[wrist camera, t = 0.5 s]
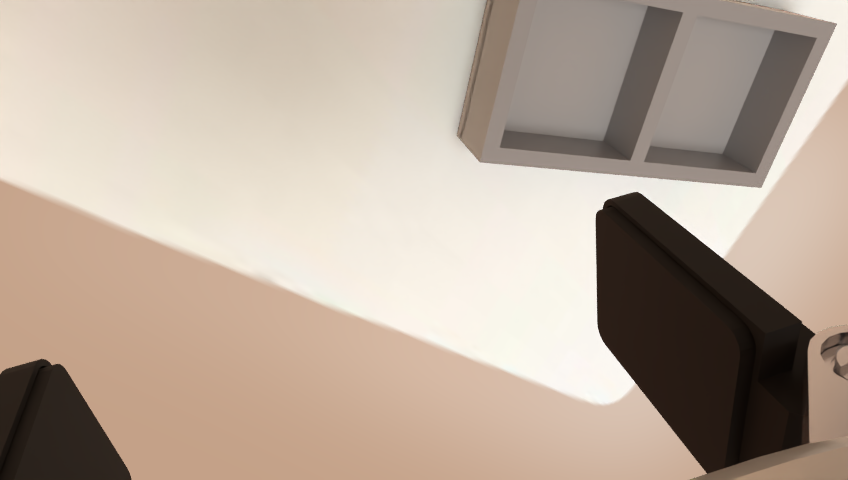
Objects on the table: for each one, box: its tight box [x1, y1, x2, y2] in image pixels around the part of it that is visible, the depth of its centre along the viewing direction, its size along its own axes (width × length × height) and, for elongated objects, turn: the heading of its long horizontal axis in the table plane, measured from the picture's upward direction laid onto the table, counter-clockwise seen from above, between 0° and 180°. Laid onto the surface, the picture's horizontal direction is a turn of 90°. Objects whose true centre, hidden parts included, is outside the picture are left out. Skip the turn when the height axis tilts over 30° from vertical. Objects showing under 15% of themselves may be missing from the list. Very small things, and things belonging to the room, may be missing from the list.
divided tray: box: [457, 0, 837, 188], centre depth 40 cm, size 11×21×4 cm, turn 79°
